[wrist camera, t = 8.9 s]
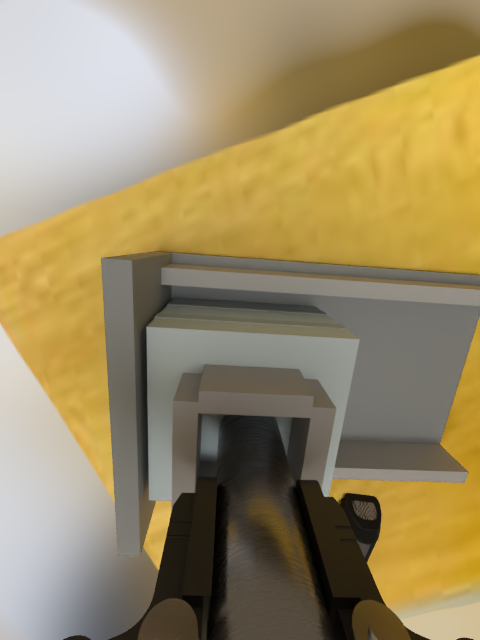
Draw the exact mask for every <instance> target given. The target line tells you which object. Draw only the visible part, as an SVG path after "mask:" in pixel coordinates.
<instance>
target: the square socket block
mask: <svg viewBox="0 0 480 640" xmlns="http://www.w3.org/2000/svg"><path fill="white" fill-rule="evenodd" d="M146 334H147V398H148V462H149V500H157V501H172V508H173V505H174V504H175V502H176V501H177V499H178V498H179V496H180V495H181V493H196V487H197V480H198V476H206V477H216V467H217V450H218V433H219V426H220V423H221V421H222V419H223V417H224V416H225V415H226V414H227V415H250V416H274V417H275V418H276V420H277V422H278V426H279V429H280V433H281V437H282V441H283V444H284V448H285V452H286V456H287V460H288V463H289V467H290V471H291V475H292V478H293V482H294V486H295V484H296V481H297V480H317V481H318V482H319V484H320V487H321V490H322V492H323V495H324V497H329V492H330V487H331V482H332V477H333V472H334V467H335V462H336V457H337V452H338V447H339V442H340V437H341V432H342V427H343V422H344V417H345V412H346V406H347V401H348V396H349V391H350V386H351V381H352V376H353V371H354V366H355V361H356V356H357V351H358V346H359V341H360V339H359V338H357V337H356V336H355V335H353V334H352V333H351V332H349V331H348V330H347V328H346V327H345V326H343V325H342V324H338V323H337V322H336V321H334V320H333V319H332V318H330V317H329V316H328V314H327V313H325V312H324V311H321V310H320V309H318V308H317V307H312V306H297V305H281V304H266V303H251V302H235V301H220V300H204V299H189V298H174V299H173V300H172V301H171V302H169V303H168V304H167V306H166V307H165V308H164V309H163V310H162V311H161V312H160V313H158V314H157V315H156V316H155V317H154V320H153V321H152V322H151V323H150V324H149V325H148V326H147V327H146Z"/></svg>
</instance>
